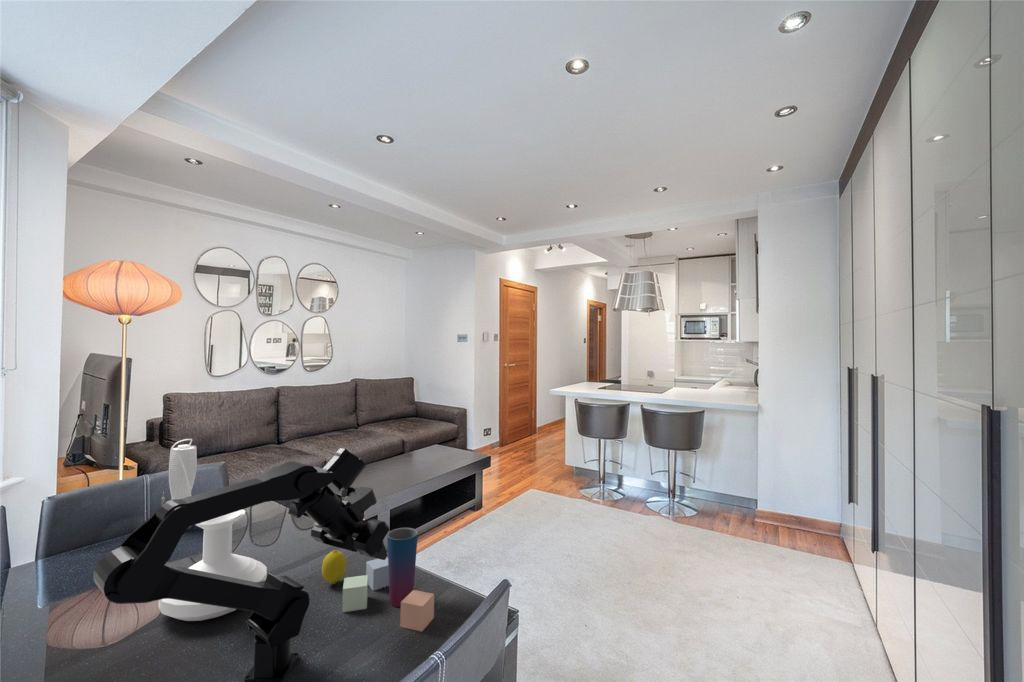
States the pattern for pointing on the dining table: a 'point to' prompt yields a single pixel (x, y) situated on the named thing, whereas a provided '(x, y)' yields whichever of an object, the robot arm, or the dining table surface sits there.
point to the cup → (401, 563)
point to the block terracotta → (417, 610)
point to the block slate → (377, 573)
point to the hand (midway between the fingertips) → (371, 553)
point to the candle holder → (216, 569)
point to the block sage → (355, 593)
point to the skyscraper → (182, 470)
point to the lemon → (334, 566)
